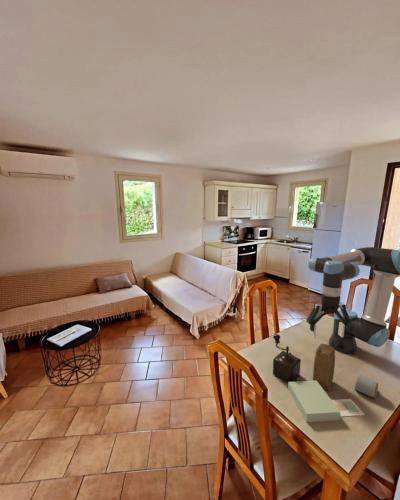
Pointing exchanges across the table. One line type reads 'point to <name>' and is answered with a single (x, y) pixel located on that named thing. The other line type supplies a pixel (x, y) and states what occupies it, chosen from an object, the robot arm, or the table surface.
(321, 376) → the block
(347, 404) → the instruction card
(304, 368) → the table surface
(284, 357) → the dark brown coffee grinder
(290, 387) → the baseplate
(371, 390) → the grey cylinder
